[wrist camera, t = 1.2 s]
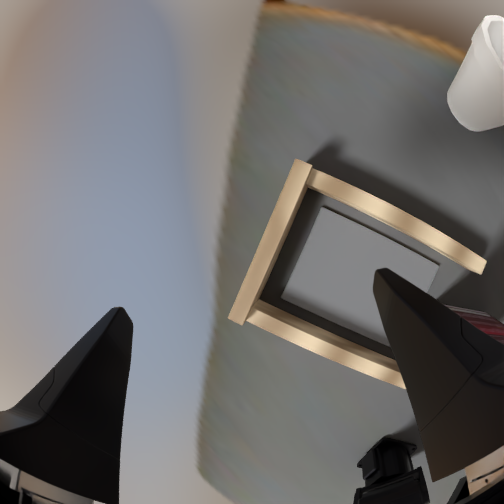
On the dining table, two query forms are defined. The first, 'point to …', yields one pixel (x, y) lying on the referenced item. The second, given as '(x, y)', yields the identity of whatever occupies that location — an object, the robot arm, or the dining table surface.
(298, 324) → the frame
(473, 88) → the foam cup
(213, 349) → the dining table surface
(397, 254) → the felt pad
